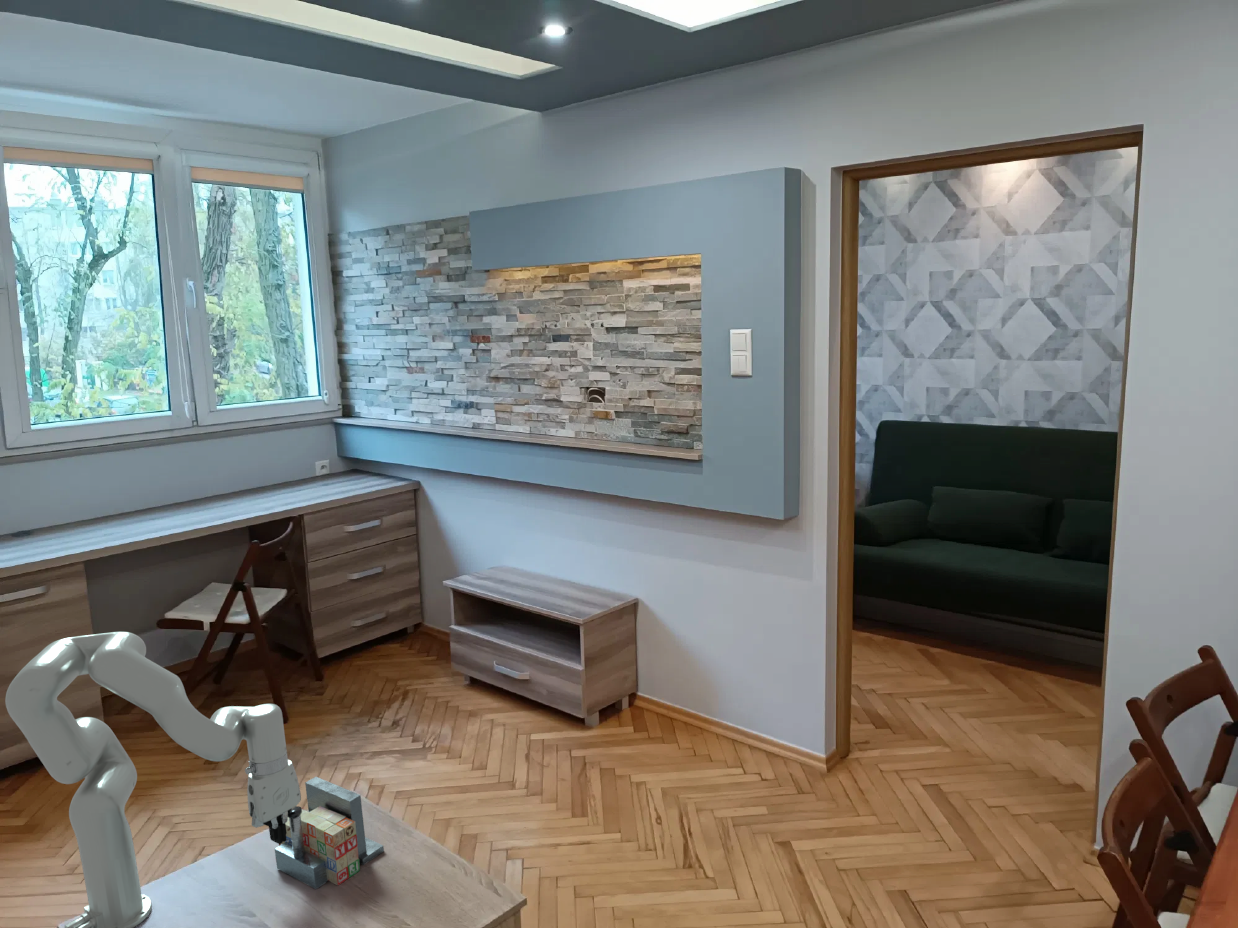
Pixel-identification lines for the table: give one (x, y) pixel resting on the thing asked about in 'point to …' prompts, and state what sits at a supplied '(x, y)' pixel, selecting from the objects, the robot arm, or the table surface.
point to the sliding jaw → (300, 856)
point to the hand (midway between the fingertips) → (279, 840)
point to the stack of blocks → (330, 841)
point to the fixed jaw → (343, 812)
